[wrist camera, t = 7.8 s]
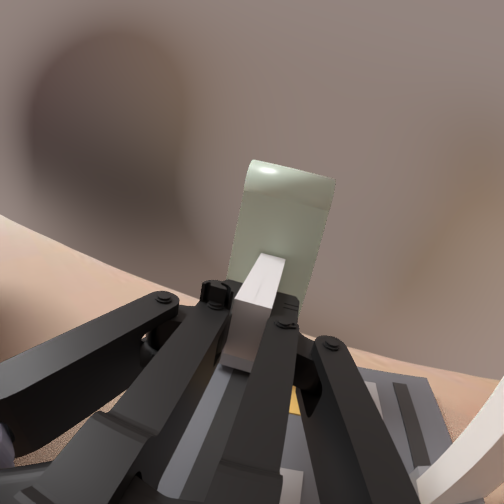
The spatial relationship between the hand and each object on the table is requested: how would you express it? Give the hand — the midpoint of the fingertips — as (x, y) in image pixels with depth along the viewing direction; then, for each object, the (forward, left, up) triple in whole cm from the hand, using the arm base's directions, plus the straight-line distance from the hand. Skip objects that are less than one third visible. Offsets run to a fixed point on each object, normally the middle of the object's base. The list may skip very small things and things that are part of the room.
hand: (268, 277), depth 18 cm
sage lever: (0, +1, -7) cm, 7 cm away
